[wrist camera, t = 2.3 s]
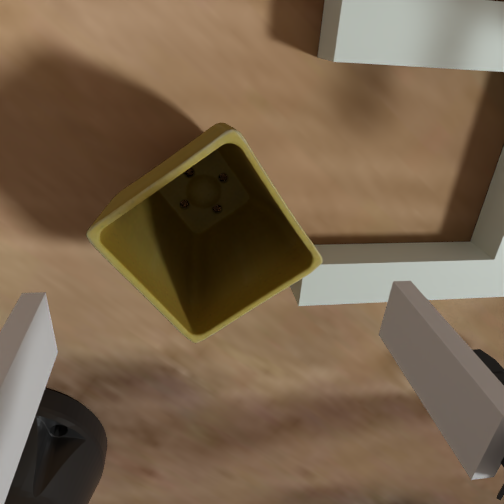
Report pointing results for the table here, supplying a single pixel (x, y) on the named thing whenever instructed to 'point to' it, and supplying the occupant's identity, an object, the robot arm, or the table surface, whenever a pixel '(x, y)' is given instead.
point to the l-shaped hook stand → (500, 190)
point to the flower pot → (205, 235)
